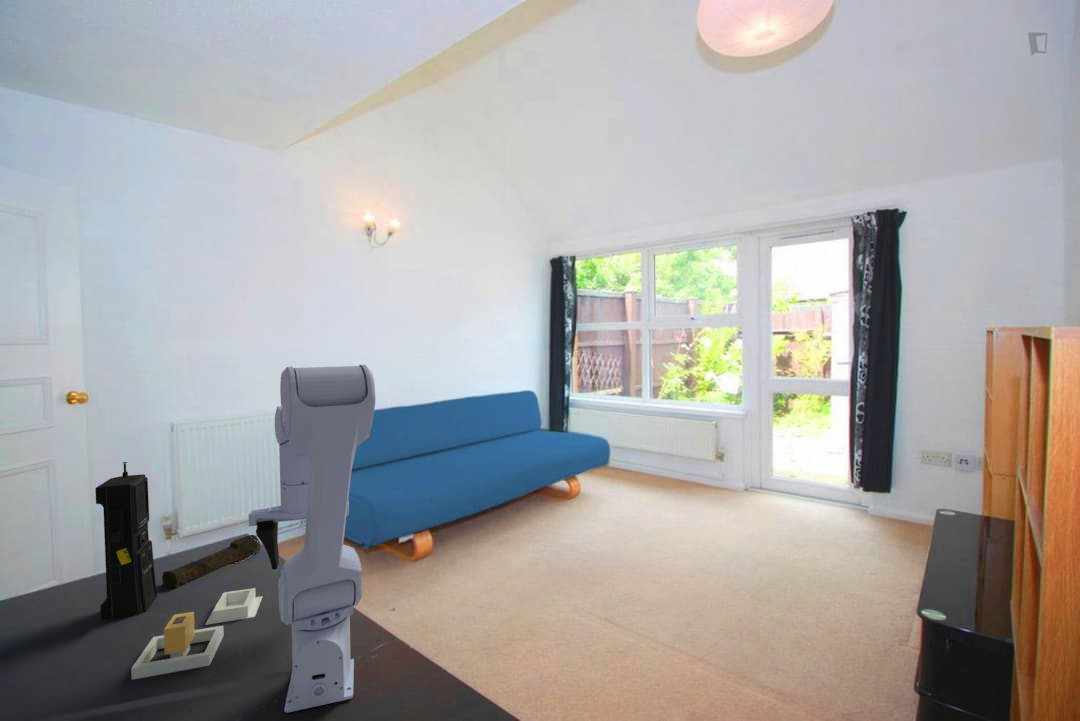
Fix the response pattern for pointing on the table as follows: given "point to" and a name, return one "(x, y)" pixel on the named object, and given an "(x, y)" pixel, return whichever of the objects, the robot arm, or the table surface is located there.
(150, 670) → the parts tray
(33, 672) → the table surface
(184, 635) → the block
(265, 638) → the table surface
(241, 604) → the white open box
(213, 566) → the dark brown log
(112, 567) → the portable radio
